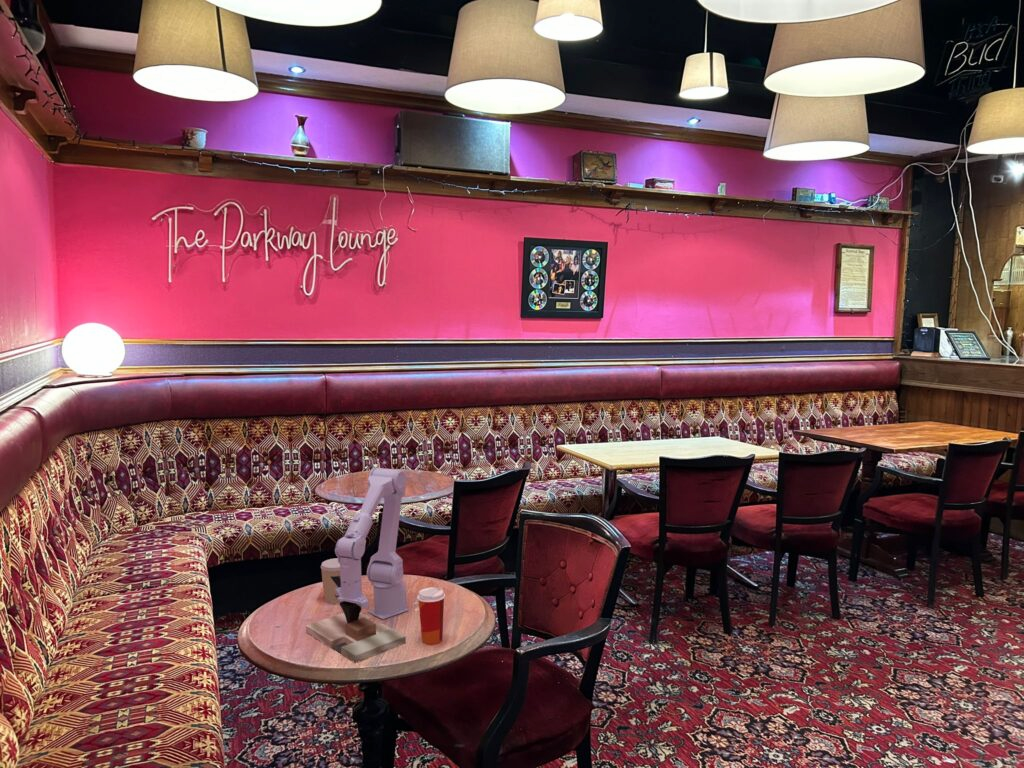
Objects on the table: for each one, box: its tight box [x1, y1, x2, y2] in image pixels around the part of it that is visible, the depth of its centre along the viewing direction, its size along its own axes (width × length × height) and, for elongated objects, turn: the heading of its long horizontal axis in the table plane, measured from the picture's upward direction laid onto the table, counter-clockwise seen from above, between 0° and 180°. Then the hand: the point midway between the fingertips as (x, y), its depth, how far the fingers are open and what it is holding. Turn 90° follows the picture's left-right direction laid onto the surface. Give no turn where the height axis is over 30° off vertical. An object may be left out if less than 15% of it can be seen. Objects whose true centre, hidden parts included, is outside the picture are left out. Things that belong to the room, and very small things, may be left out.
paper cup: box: [417, 586, 446, 646], centre depth 200 cm, size 8×8×14 cm
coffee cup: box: [320, 557, 343, 605], centre depth 230 cm, size 9×9×12 cm
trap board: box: [305, 611, 407, 664], centre depth 203 cm, size 16×26×2 cm, turn 44°
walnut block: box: [345, 618, 377, 641], centre depth 201 cm, size 6×6×3 cm
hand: (352, 626), depth 204 cm, fingers closed
